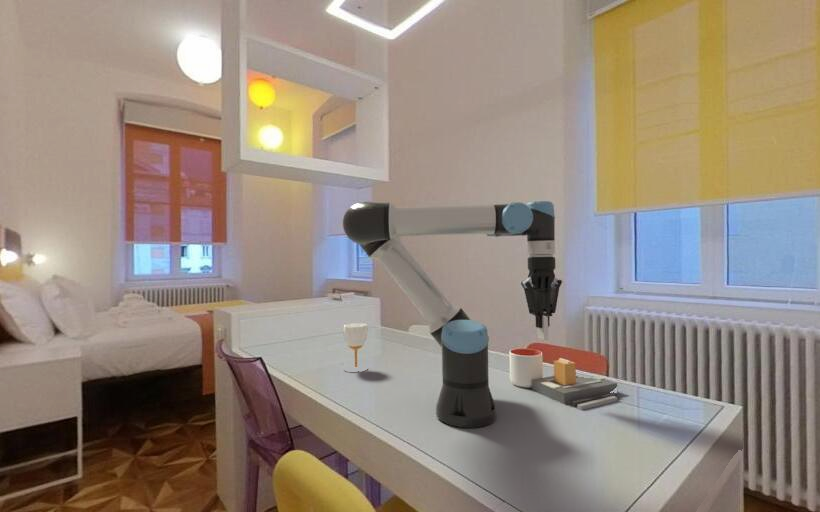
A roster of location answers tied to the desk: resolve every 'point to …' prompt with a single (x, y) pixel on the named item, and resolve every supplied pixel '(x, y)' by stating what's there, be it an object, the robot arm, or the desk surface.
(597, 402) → the cord grey
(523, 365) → the cup
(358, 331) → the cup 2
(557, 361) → the breaker toggle
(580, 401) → the black bar
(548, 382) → the box
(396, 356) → the desk surface
